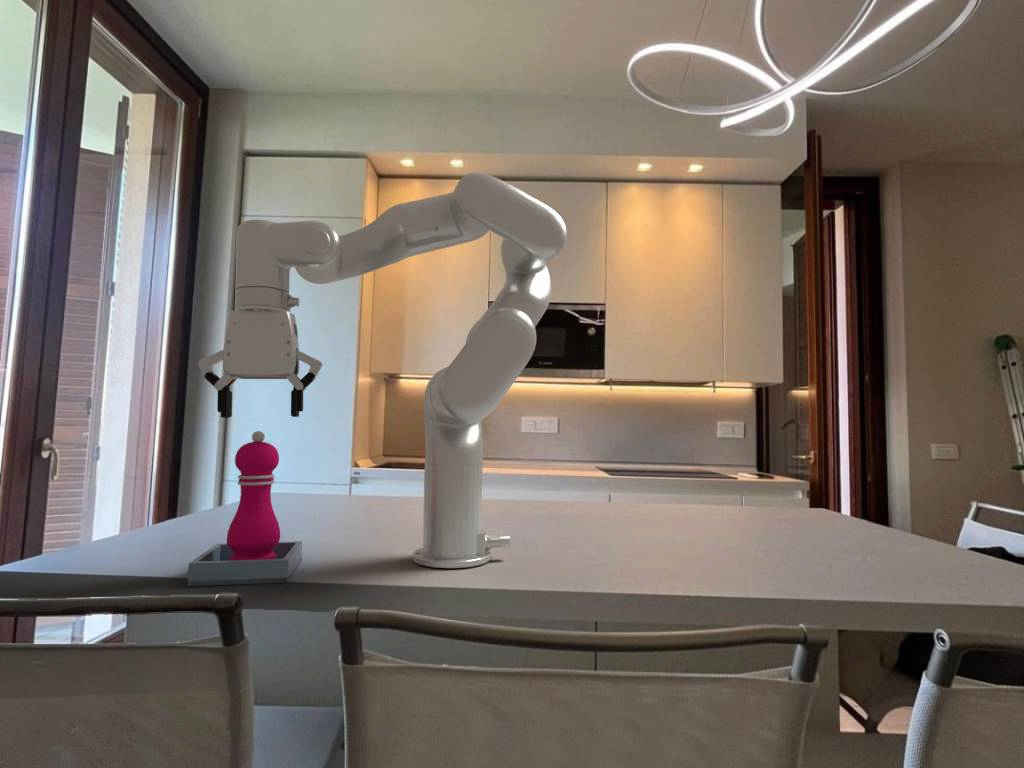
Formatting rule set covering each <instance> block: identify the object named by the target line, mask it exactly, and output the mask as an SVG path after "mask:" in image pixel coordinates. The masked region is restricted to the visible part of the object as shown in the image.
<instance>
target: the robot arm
mask: <svg viewBox="0 0 1024 768" xmlns="http://www.w3.org/2000/svg"><path fill="white" fill-rule="evenodd" d="M489 231H491V232H492V233H494V234H495V235H497V236H499V237H500V238H503V239H502V242H501V246H500V258H501V261H502V265H503V266H504V271H505V276H506V278H505V283H504V285H503V288H502V289H501V290H500V291H499V292H498V294H497V296H496V297H495V299H494V301H492V303H491V305H489V307H488V308H487V310H486V311H485V312H484V313H483V315H482V316H481V317H480V318H479V319H478V320H477V321H476V322H475V323H474V324H473V325H472V327H471V328H470V330H469V332H468V334H467V337H466V339H465V344H464V346H463V347H462V348H461V350H460V351H459V352H458V353H457V355H456V356H455V357H454V359H453V360H452V362H451V363H449V365H448V366H446V367H444V368H442V369H440V370H438V371H436V372H435V374H434V375H432V377H430V379H429V381H428V382H427V385H426V387H425V391H424V398H423V414H424V433H425V435H424V436H425V437H424V438H425V439H424V443H425V444H424V446H425V447H424V448H425V449H424V476H423V477H424V480H423V481H424V482H423V483H424V484H423V521H422V547H420V548H417V549H416V550H414V551H413V553H412V561H413V562H414V563H415V564H418V565H421V566H424V567H430V568H437V569H462V568H464V569H465V568H473V567H476V566H477V567H478V566H481V565H484V564H487V563H488V562H489V561H490V560H491V554H492V552H491V549H492V548H498V549H501V548H502V549H503V548H504V549H505V548H508V549H509V548H510V547H511V537H510V535H501V534H486V532H485V531H484V529H483V528H482V524H483V523H482V522H483V521H482V516H483V515H482V514H483V511H482V510H483V509H482V507H483V463H484V445H483V444H484V441H483V440H484V439H483V437H484V436H483V430H482V429H483V428H482V420H483V419H486V418H487V417H488V416H489V415H490V414H491V413H492V412H493V411H494V410H495V409H496V407H498V406H499V405H498V404H500V402H501V401H502V400H503V398H504V397H505V395H506V394H507V392H509V390H510V388H511V387H512V386H513V384H514V383H515V382H516V380H517V379H518V378H519V376H520V374H521V373H522V371H523V370H524V369H525V367H526V366H527V365H528V363H529V361H530V360H531V358H532V356H533V354H534V352H535V349H536V345H537V331H536V326H537V325H538V323H539V322H540V320H541V319H542V318H543V315H544V314H545V312H546V311H547V309H548V307H549V305H550V302H551V298H552V291H553V290H552V281H551V276H550V272H549V269H548V266H547V263H548V262H550V261H552V260H553V259H555V257H557V256H558V255H559V254H560V253H561V251H563V249H564V247H565V245H566V242H567V237H568V234H567V233H568V232H567V227H566V223H565V222H564V220H563V218H562V217H561V216H560V215H559V214H558V213H557V212H556V211H555V210H554V209H553V208H551V207H550V206H548V205H547V204H545V203H543V202H542V201H540V200H538V199H536V198H534V197H533V196H531V195H529V194H528V193H526V192H524V191H522V190H521V189H518V188H516V187H515V186H513V185H511V184H510V183H508V182H506V181H503V180H502V179H499V178H497V177H495V176H492V175H489V174H487V173H482V172H473V173H472V172H471V173H468V174H466V175H464V176H463V177H462V178H461V179H459V181H458V182H457V183H456V186H455V187H454V189H453V191H452V192H448V193H444V194H439V195H436V196H431V197H430V196H429V197H426V198H421V199H416V200H412V201H407V202H400V203H398V204H395V205H393V206H391V207H389V208H388V209H386V210H385V211H384V212H382V213H381V214H380V215H379V216H378V217H377V218H375V219H374V220H373V221H372V222H370V223H368V224H367V225H365V226H364V227H361V228H359V229H356V230H355V231H352V232H348V233H346V234H341V235H339V233H338V232H337V231H336V230H335V228H333V227H332V226H331V225H329V224H327V223H325V222H322V221H317V220H303V221H302V220H301V221H291V222H290V221H289V222H275V221H271V220H265V219H248V220H245V221H243V222H241V223H240V224H239V225H238V226H237V229H236V234H235V235H236V236H235V239H236V240H235V241H236V242H235V243H236V244H235V288H234V290H235V291H234V292H235V294H234V310H233V309H232V310H230V313H229V315H228V319H227V320H228V321H227V324H226V329H225V337H224V342H223V344H224V345H223V349H221V350H219V351H217V352H215V353H213V354H211V355H208V356H207V357H203V358H201V359H199V360H198V362H197V365H198V367H199V369H200V370H201V373H202V374H203V376H204V379H206V381H207V382H209V384H210V385H212V386H213V388H214V389H215V390H217V405H216V407H217V408H216V409H217V413H220V418H222V419H223V418H225V419H226V418H228V419H229V418H230V419H231V417H232V416H233V391H231V390H230V389H231V388H230V387H232V385H233V384H234V383H235V382H236V381H237V380H238V379H241V380H288V381H289V383H290V384H291V385H292V386H293V389H292V390H290V416H291V417H293V418H294V417H295V418H299V417H300V412H303V411H304V391H305V390H306V389H307V388H308V386H310V385H311V384H312V383H313V382H314V381H315V380H316V377H317V376H318V375H319V373H320V371H321V369H322V367H323V363H322V361H320V360H318V359H316V358H315V357H312V356H310V355H308V354H306V353H305V352H302V351H300V350H299V349H300V348H299V336H298V335H299V333H298V327H297V321H296V317H295V314H293V313H291V309H292V308H295V307H299V306H300V298H299V297H294V296H292V295H291V294H290V277H291V276H290V272H291V268H295V271H296V273H297V274H298V275H299V276H300V278H302V279H304V280H305V281H307V282H309V283H312V284H319V285H324V284H330V283H335V282H339V281H344V280H348V279H351V278H355V277H359V276H362V275H366V274H368V273H372V272H374V271H377V270H379V269H382V268H384V267H388V266H390V265H394V264H396V263H399V262H401V261H403V260H406V259H408V258H410V257H414V256H418V255H421V254H426V253H429V252H434V251H438V250H442V249H445V248H450V247H453V246H458V245H462V244H466V243H470V242H473V241H476V240H479V239H481V238H483V237H484V236H486V234H487V233H489ZM221 362H222V370H223V373H224V374H223V375H222V376H221V377H219V376H218V375H217V374H216V373H215V371H214V368H213V366H214V365H216V364H219V363H221ZM300 362H302V363H304V364H306V365H308V366H309V370H308V372H307V373H306V374H305V375H304V376H303V377H302V378H300V377H299V376H298V375H299V372H300Z"/></svg>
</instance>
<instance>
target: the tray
mask: <svg viewBox="0 0 1024 768" xmlns="http://www.w3.org/2000/svg"><path fill="white" fill-rule="evenodd" d="M272 552H274V553H275V554H276V559H264V560H235V561H229V558H230V557H231V556H232V555H234V552H233V551H232V550H231V549H230V548H229V547H228V545H227V542H226V543H216V544H215V545H213V546H212V547H210V548H209V549H208V550H205V552H203V553H202V554H200V555H199V556H197V557H196V558H194V559H192V560H191V561H190V562H188V568H187V569H188V570H187V587H200V586H201V587H202V586H205V587H206V586H207V587H208V586H223V585H225V586H228V585H229V586H230V585H251V584H272V583H275V584H276V583H288V582H289V580H290V579H291V577H292V576H293V575H294V573H295V571H296V570H297V569H298V566H299V565H300V564H301V562H302V557H303V541H302V540H301V541H296V540H295V541H279V542H278V544H277V545H276V546H275V547H274V548H273V550H272Z"/></svg>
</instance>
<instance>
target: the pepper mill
mask: <svg viewBox="0 0 1024 768" xmlns="http://www.w3.org/2000/svg"><path fill="white" fill-rule="evenodd" d="M265 438H266V437H265V434H264V432H262V431H260V430H258V431H254V432H253V433H252V435H251V440H252V441H251V442H248V443H244V444H243V445H242V446H240V447H239V448H238V450H237V451H236V453H235V457H234V464H235V467H236V468H237V470H238V471H239V472H240V474H238V476H237V479H238V481H237V485H239V486H240V496H239V497H240V498H239V504H238V507H237V510H236V512H235V515H234V516H233V518H232V521H231V522H230V524H229V527H228V531H227V534H226V543H227V545H228V547H229V548H230V549H231V550H232V551H233V552H234V555H232V556H231V557H230V558H229V561H235V560H264V559H276V554H275V553H274V552H272V550H273V548H274V547H275V546H276V545H277V544H278V542H280V541H281V528H280V525H279V521H278V519H277V516H276V514H275V511H274V509H273V505H272V496H271V495H272V494H271V493H272V492H271V491H272V485H273V484H275V476H276V475H275V474H274V473H273V472H274V470H275V469H276V468H277V467H278V465H279V463H280V454H279V451H278V450H277V448H276V447H275V446H274V445H272V444H271V443H269V442H265V441H264V440H265Z"/></svg>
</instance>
